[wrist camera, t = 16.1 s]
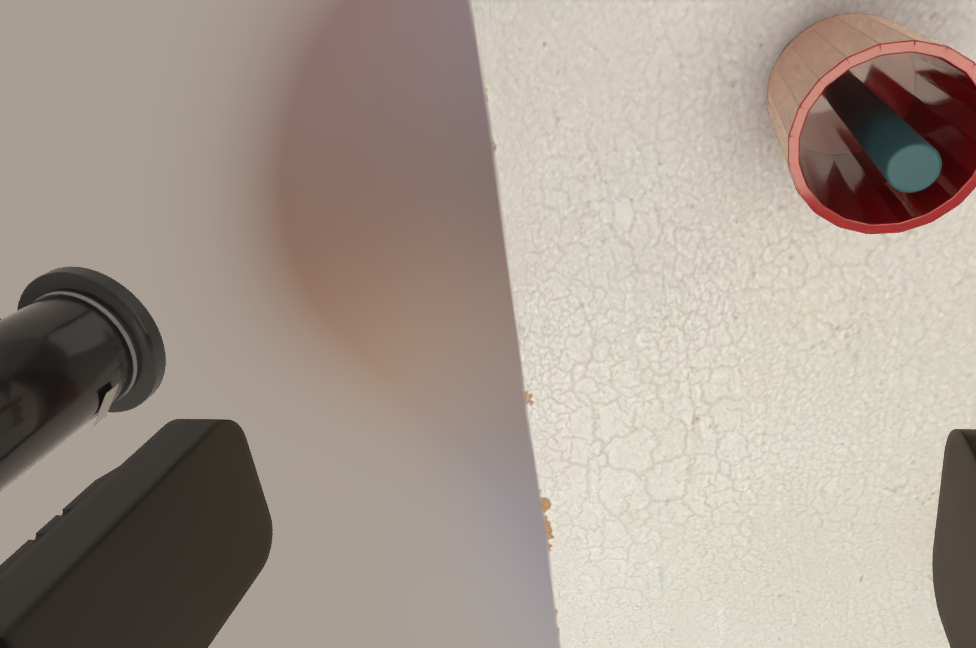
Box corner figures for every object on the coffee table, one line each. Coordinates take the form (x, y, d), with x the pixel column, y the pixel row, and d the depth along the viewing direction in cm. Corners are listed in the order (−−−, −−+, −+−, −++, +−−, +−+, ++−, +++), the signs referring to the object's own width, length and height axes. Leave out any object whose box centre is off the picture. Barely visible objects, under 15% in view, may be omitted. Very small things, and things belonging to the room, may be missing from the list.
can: (766, 165, 40) (786, 238, 30) (767, 23, 37) (789, 53, 27) (915, 154, 38) (988, 228, 28) (928, 3, 35) (1013, 28, 25)
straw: (825, 111, 37) (884, 195, 25) (826, 76, 37) (887, 145, 25) (862, 107, 37) (940, 191, 25) (864, 72, 36) (944, 141, 24)
